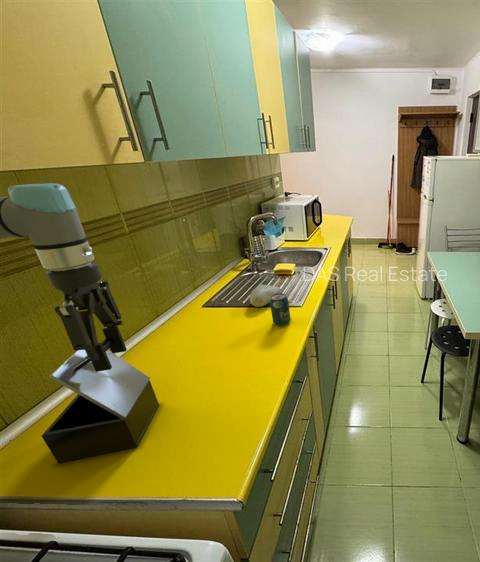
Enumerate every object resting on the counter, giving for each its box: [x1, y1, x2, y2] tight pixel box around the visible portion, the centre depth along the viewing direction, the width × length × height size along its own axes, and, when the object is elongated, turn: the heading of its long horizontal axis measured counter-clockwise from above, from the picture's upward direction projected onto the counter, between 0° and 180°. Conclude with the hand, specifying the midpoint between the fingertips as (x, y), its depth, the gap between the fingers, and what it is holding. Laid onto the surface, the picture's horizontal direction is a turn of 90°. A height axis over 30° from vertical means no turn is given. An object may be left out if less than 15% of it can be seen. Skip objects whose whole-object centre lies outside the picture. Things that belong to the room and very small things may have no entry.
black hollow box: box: [40, 379, 160, 464], centre depth 74 cm, size 16×14×9 cm
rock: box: [249, 284, 282, 308], centre depth 141 cm, size 8×11×20 cm
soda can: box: [269, 292, 292, 327], centre depth 122 cm, size 7×7×12 cm
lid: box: [48, 337, 151, 419], centre depth 70 cm, size 17×14×7 cm
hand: (112, 359), depth 69 cm, fingers closed on lid, 6 cm apart
